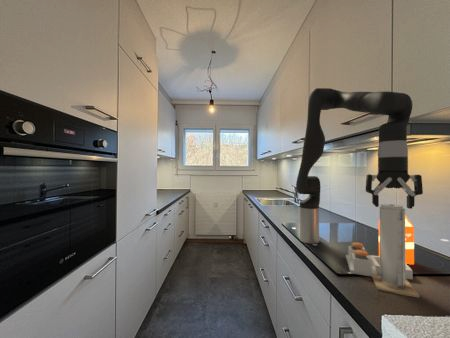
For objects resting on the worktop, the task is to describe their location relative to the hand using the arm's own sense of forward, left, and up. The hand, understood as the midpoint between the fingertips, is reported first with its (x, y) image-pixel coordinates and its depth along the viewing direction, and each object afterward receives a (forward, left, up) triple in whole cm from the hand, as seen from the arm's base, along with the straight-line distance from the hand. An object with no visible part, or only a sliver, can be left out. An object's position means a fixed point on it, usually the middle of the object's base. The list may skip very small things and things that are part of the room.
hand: (392, 207), depth 70 cm
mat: (0, 0, -25) cm, 25 cm away
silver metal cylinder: (0, 0, -25) cm, 25 cm away
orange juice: (-24, +7, -25) cm, 35 cm away
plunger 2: (-8, -8, -23) cm, 25 cm away
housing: (-12, -2, -25) cm, 28 cm away
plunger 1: (-17, -8, -23) cm, 29 cm away
